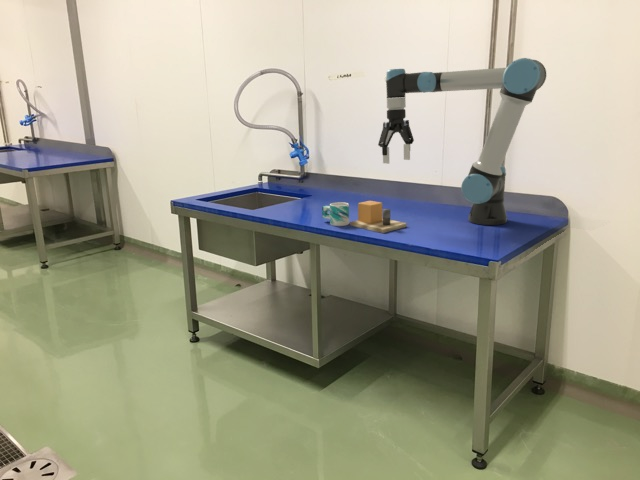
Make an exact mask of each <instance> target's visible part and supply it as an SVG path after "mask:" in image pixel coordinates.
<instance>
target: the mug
mask: <svg viewBox="0 0 640 480" xmlns="http://www.w3.org/2000/svg"><path fill="white" fill-rule="evenodd" d="M349 209H350V205H349V203H348V202H344V201H343V202H341V201H338V202H331V203H329V205H324V206H322V207H321V213H322V215H321V216H322V217H321V218H322V219H327V220H330V221H329V224H330V226H334V227H335V226H336V227H342V226H347V225H349V224H350V210H349Z"/></svg>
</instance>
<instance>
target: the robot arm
mask: <svg viewBox="0 0 640 480" xmlns="http://www.w3.org/2000/svg"><path fill="white" fill-rule="evenodd" d="M385 80H386V81H385V83H386V84H385V85H386V87H385V88H386V108H387V110H386V118H387V120H388V121H383V122H382V130H381V133H380V137H379V140H378V144H377V145H378V146H379V147H380V148H381V151H382V152H381V155H382V164H386V165H387V164H390V147H389V145H390V142H391V141H392V138H393V136H394V135H395V134H396V133H399V135H400V137H401V138H402V140H403V142H404V143H403V160H406V161H410V160H411V145H412V144H413V142H414V141H415V140H414V136H413V133H412V130H411V126H410V120H408V119H405V118H406V117H407V115H406V114H407V113H406V109H405V108H406V107H407V106H406V94H413V93H414V94H415V93H416V94H418V93H438V92H441V93H442V92H457V91H476V90H478V91H479V90H495V89H496V90H498V89H499V90H500V91H499V95H500V97H501V101H500V103H499V105H498V108H497V110H496V113H495V116H494V118H493V120H492V123H491V127H490V129H489V131H488V134H487V136H486V139H485V141H484V145H483V147H482V150H481V152H480V154H479V157H478V160H477V161H475V162H473V163H472V164H471V167H470V169H469V172H468V175H467V176H465V178H464V179H463V180H462V182H461V186H460V187H461V194H462V196H463V197H464V198H465V200H467V201H468V202H470V203H471V204H472V207H471V209H470V211H469V213H468V221H469V222H470V223H473V224H477V225H484V226H497V225H498V226H499V225H504V224H506V223H507V222H508V215H507V211H506V207H505V203H504V201H505V188H506V186H505V185H506V175H507V173H506V172H507V170H506V167H505V166H503V165H502V164H503V162H504V160H505V157H506V155H507V152H508V150H509V147H510V146H511V142H512V139H513V137H514V135H515V132H516V130H517V127H518V125H519V123H520V120H521V117H522V116H523V112H524V110H525V108H526V107H527V105H530V104H531V103H532V102H533V100H534V98H535V95H536V93H537V90H539V89H540V88H542V87H543V86H544V84H545V81H546V80H547V69H546V68H545V65H544V64H543V63H541V62H540V60H536V59H531V58H529V57H522V58H518V59H516V60H514V61H511V62H510V64H508V65H507V66H506V67H497V68H485V69H484V68H483V69H480V68H479V69H469V70H468V69H467V70H456V71H443V72H442V71H439V72H433V71H421V72H412V73H411V72H409V73H406V70H405V68H392V69H388V70H386V78H385Z"/></svg>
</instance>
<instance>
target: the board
mask: <svg viewBox="0 0 640 480" xmlns="http://www.w3.org/2000/svg"><path fill="white" fill-rule="evenodd" d="M349 224H350V226H351V227H356V228H358V229H359V228H360V229H364V230H368V231H372V232H376V233H381V234H385V233H389V232H392V231H396V230H399V229H403V228H406V227H407V226H408V225H407V222H402V221H398V220H393V219H391V209H390V208H382V221H379V222H375V223H371V224H370V223H365V222H361V221H358V219H356V220H353V221H349Z"/></svg>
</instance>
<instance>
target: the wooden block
mask: <svg viewBox="0 0 640 480" xmlns="http://www.w3.org/2000/svg"><path fill="white" fill-rule="evenodd" d="M382 218H383V202H381V201H374V200H367V201H362V202H358V203H357V220H358V221H361V222H365V223H370V224H371V223H375V222H379V221H382Z"/></svg>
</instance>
